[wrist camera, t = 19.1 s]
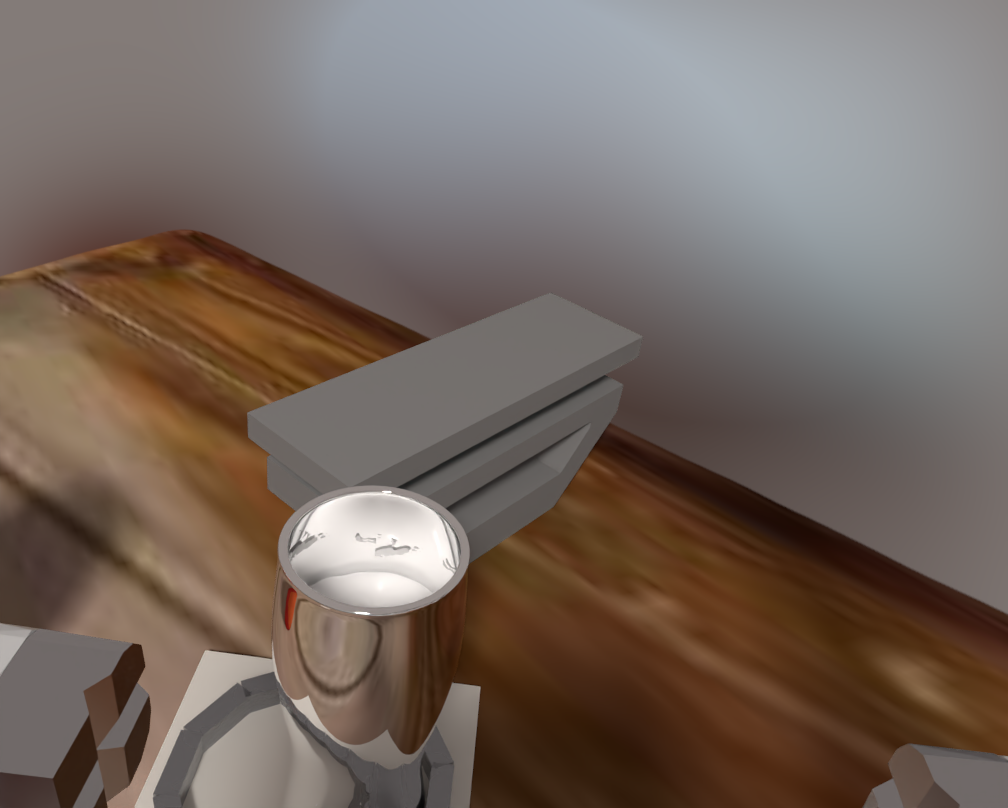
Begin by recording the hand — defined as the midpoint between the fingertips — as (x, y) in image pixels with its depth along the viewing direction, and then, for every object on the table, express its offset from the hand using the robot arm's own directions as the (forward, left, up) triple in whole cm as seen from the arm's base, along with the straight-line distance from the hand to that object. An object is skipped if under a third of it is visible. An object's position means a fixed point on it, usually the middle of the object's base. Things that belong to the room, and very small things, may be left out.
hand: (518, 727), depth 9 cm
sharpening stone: (+2, -37, -28) cm, 47 cm away
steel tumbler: (+4, -16, -28) cm, 32 cm away
